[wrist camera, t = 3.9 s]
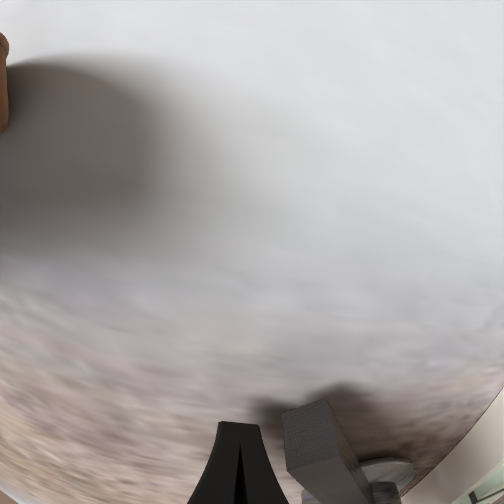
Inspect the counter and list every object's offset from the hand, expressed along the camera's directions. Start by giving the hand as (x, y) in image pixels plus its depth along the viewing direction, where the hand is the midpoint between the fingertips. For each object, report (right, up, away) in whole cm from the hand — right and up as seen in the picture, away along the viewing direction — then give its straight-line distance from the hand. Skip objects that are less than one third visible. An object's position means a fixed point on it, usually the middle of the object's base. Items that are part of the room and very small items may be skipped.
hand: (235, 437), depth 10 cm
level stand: (+17, -9, +6) cm, 20 cm away
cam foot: (+9, -3, +2) cm, 9 cm away
